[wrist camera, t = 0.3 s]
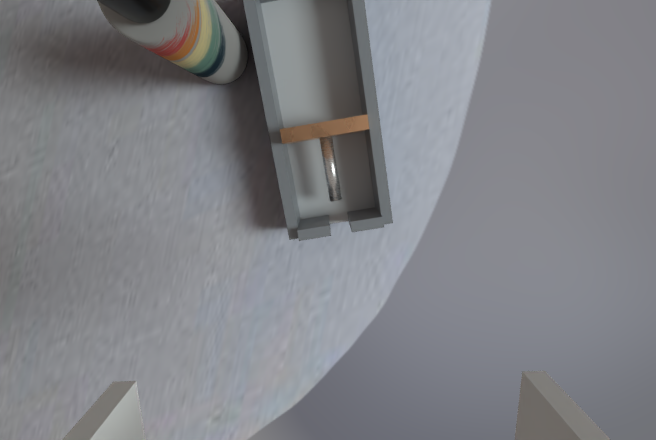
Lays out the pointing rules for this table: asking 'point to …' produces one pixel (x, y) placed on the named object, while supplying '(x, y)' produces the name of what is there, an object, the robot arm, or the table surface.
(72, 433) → the robot arm
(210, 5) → the lotion bottle
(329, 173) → the pusher
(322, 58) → the tray
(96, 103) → the table surface
